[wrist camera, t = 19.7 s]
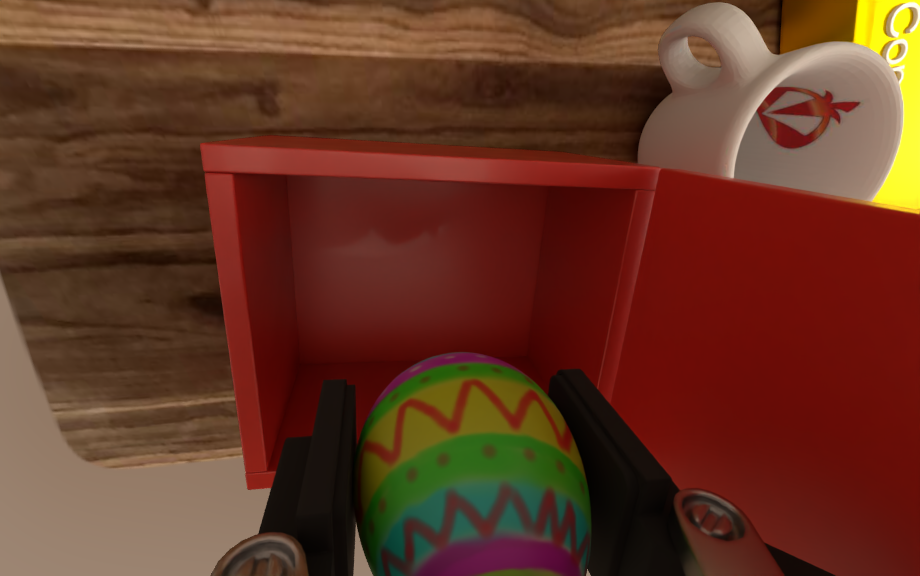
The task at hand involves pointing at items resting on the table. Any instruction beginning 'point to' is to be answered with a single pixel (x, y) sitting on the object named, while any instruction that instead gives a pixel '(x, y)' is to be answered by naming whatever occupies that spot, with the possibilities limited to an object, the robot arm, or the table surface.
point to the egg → (470, 476)
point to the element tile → (895, 39)
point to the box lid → (783, 364)
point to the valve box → (412, 267)
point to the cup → (774, 109)
